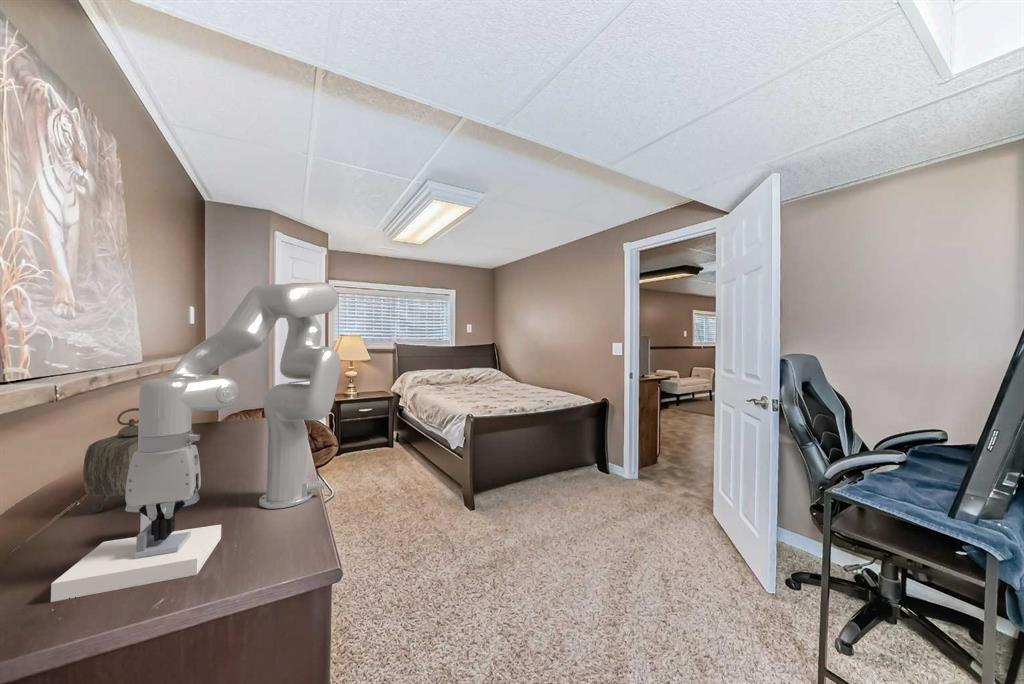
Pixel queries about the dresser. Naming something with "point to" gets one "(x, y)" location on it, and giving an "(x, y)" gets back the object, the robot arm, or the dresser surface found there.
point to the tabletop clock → (110, 462)
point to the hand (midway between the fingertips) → (162, 537)
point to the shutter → (158, 543)
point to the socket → (134, 565)
